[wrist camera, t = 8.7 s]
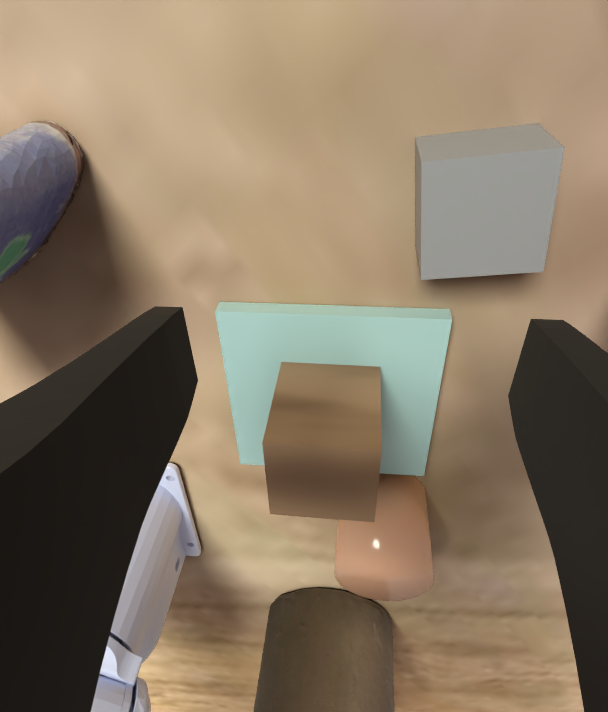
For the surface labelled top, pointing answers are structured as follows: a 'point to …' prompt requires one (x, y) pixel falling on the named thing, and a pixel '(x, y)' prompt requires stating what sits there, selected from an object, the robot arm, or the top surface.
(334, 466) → the walnut block
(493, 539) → the top surface
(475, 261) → the grey square block
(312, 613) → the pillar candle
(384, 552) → the peach domed cylinder
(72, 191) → the flask
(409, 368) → the coaster
